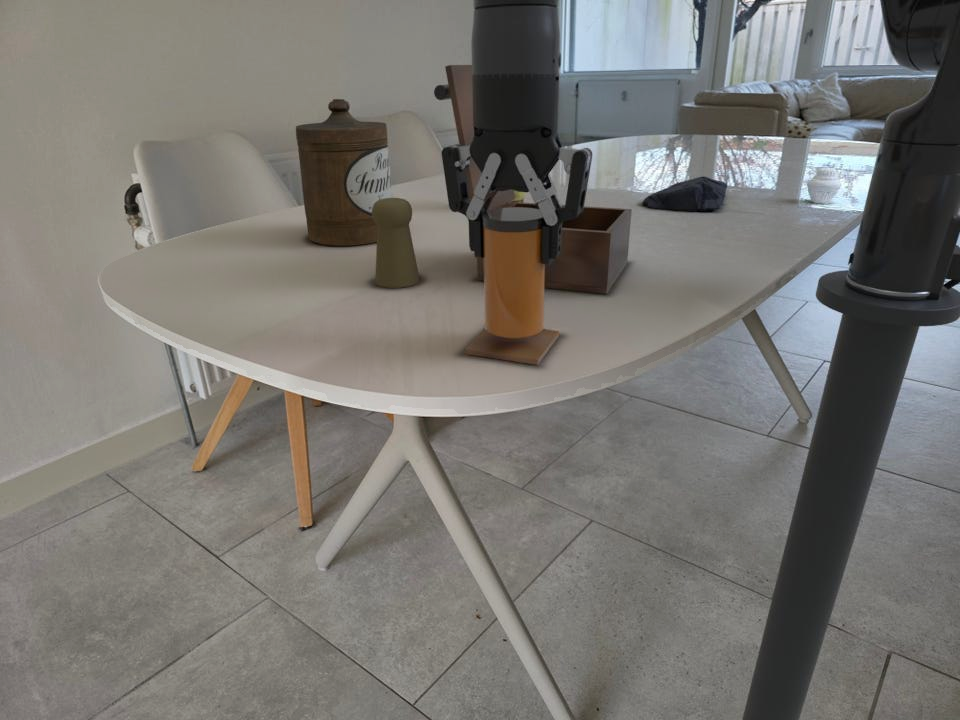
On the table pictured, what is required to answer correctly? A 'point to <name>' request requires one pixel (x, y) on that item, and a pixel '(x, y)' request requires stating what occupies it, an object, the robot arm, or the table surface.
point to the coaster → (513, 346)
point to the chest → (586, 250)
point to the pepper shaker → (394, 244)
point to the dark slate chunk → (689, 195)
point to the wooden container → (343, 176)
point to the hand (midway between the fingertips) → (514, 258)
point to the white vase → (823, 186)
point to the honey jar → (513, 272)
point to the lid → (466, 123)
